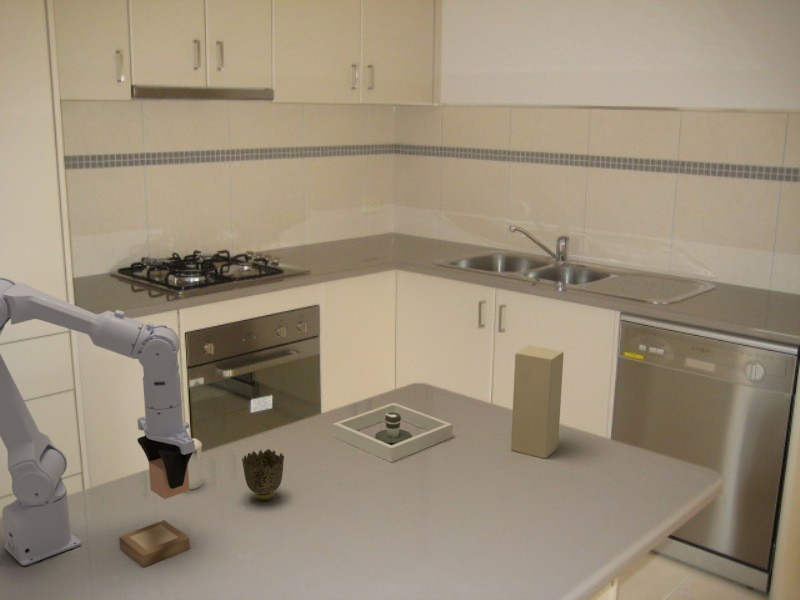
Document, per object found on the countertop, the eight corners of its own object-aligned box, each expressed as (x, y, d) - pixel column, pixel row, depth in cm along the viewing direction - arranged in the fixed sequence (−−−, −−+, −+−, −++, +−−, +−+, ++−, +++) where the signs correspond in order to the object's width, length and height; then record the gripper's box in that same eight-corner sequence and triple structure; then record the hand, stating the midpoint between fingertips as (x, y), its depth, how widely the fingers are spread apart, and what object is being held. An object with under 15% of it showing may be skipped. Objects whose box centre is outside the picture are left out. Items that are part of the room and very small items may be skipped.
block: (164, 499, 136) (162, 470, 135) (150, 490, 140) (148, 461, 138) (189, 490, 140) (187, 462, 138) (175, 481, 143) (173, 453, 141)
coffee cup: (421, 447, 176) (421, 425, 174) (363, 447, 176) (362, 425, 175) (420, 425, 187) (420, 404, 186) (366, 425, 187) (365, 404, 186)
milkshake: (191, 477, 163) (188, 428, 160) (209, 485, 160) (206, 435, 157) (171, 485, 159) (168, 435, 157) (189, 493, 156) (185, 443, 154)
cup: (293, 497, 155) (292, 456, 153) (261, 511, 149) (259, 469, 147) (268, 485, 160) (266, 445, 158) (235, 498, 154) (233, 457, 152)
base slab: (144, 567, 132) (143, 555, 132) (120, 548, 138) (119, 536, 137) (189, 548, 137) (189, 537, 137) (164, 530, 143) (163, 519, 142)
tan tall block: (560, 446, 177) (565, 350, 172) (546, 459, 171) (551, 359, 166) (525, 438, 181) (528, 344, 176) (510, 450, 175) (513, 353, 170)
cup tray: (391, 462, 169) (391, 448, 169) (333, 436, 182) (333, 423, 181) (452, 437, 181) (452, 424, 181) (393, 415, 194) (393, 402, 193)
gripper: (209, 408, 133) (214, 488, 137) (162, 386, 143) (167, 460, 147) (169, 420, 129) (174, 502, 132) (123, 396, 139) (129, 473, 142)
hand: (168, 481), depth 139 cm, fingers closed on block, 4 cm apart
